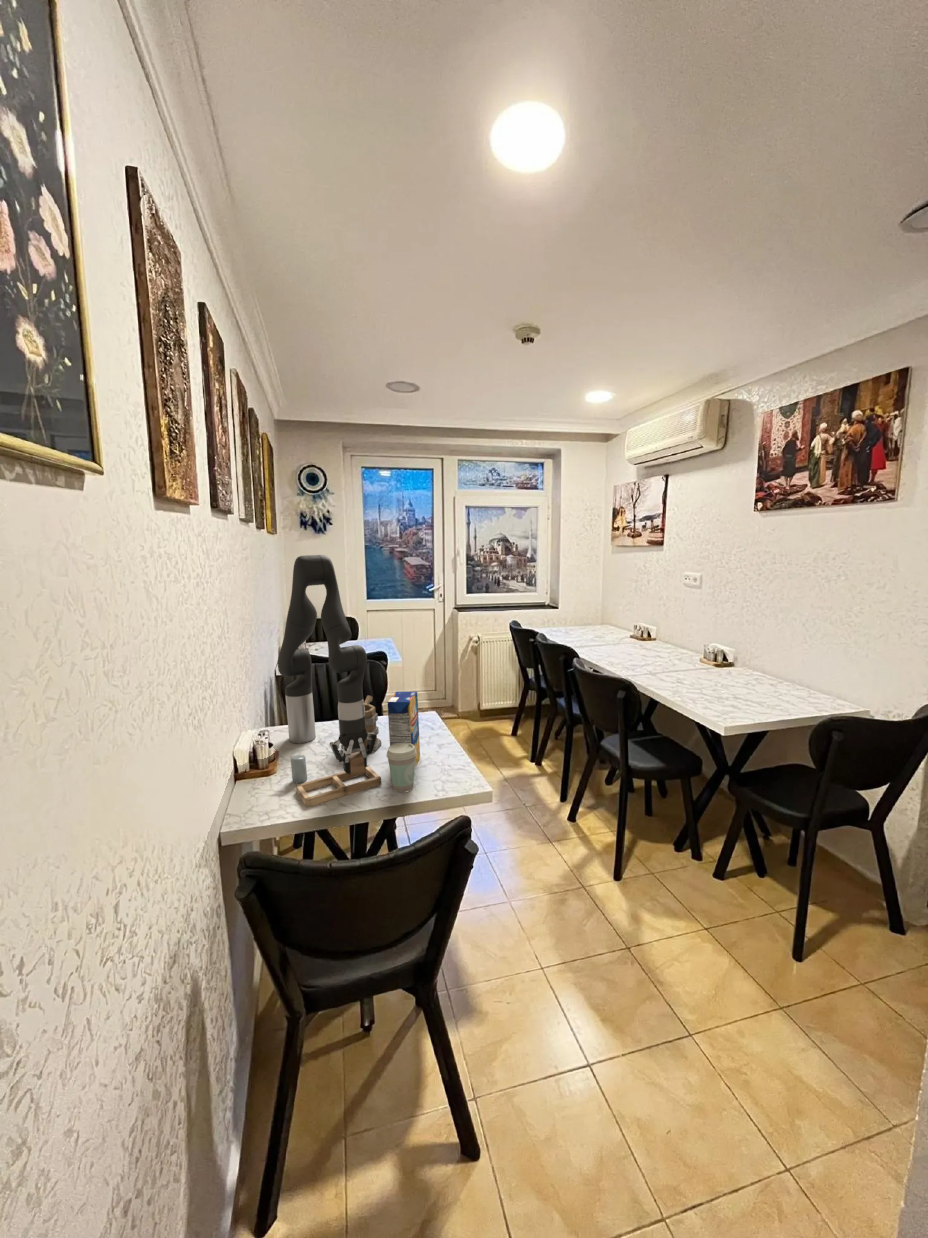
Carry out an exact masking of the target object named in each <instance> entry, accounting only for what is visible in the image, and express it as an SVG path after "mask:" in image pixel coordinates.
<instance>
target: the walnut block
mask: <svg viewBox="0 0 928 1238" xmlns="http://www.w3.org/2000/svg"><path fill="white" fill-rule="evenodd" d="M349 762H350V775H351V776H354V775H358V774H361V773H365V766H364V756H363V755H362V754H361V753H360V752H356V753H352V754H351V755H350V758H349Z"/></svg>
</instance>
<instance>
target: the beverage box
mask: <svg viewBox="0 0 928 1238" xmlns="http://www.w3.org/2000/svg"><path fill="white" fill-rule="evenodd" d="M418 699H419V698H418V691H395V692H394V694H393V695H392V696H391V697H390V699H388V701H387V716H388V732H389V733H388V735H389V737H388V738H389V747H390V746H391V745H393V744H397V743H410V744H413V745H414V747H415V749H416V752H417V754H416V758H415V767H416V766H417V763H418V762H419V760H420V758H421V747H420V746H421V745H420V726H419V725H420V723H419V706H418V705H419V703H418V702H419V701H418Z"/></svg>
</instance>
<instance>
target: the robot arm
mask: <svg viewBox="0 0 928 1238" xmlns="http://www.w3.org/2000/svg"><path fill="white" fill-rule="evenodd" d="M292 569H293V571H292V581H291V582H292V584H291V585H292V586H291V587H292V588H291V596H290V600H289V601H290V602H289V606H288V611H287V617H286V620H285V621H286V622H285V630H284V636H283V640H282V643H281V647H280V650H279V653H278V657H277V670H278V672H279V674H280V675H281V676H282V677H284V678H285V677H286V678H288V677H289V678H290V677H295V676H298V677H297V678H296V679H295V680H294V681H292V682H291V683H289V684H288V685H285V688H284V694H285V705H286V717H287V729H288V739H289V742H290V743H293V744H304V743H308V742H311V741H313V740H314V739H316V737H317V735H316V723H315V708H314V699H313V697H314V696H313V675H312V674H313V673H312V672H313V669H312V667H313V666H312V657H311V653H310V651H309V650H308V649H307V648H304V647H303V648H299V647H301V646H302V645H303V644H304V643H305V642H306V641H307V640H308V639H309V638H310V636H312V634H313V633H314V631H315V627H316V623H317V618H318V612H317V609H316V607H315V606H314V603H312V601H311V600H310V598H309V597H308V595H307V593H306V591H307V588H308V587H309V586H310V587H311V586H321V585H323V586H324V587H325V592H326V595H325V599H324V603H323V604H322V605H323V606H322V608H321V611H320V621H321V625H322V628H323V631H324V634H325V636H326V641H327V649H328V657H327V659H328V665H329V668H330V669H331V671H333V672H334V673H336V674H343V673H347V672H350V673H349V675H348V676H347V677H345V678H343V679H340V680H339V681H338V682H337V684H336V687H337V688H336V689H337V703H338V704H337V715H338V729H339V736H338V739H337V740H335V741H330V743H329V746H330V748H331V751H332V753H333V756H334V757H335V759H336V760H337V761H338V762H339V763H342V765H343V772H346V773H347V774H350V762H349V758H350V755H351V751H352V750H354V749H358V750H359V752H360V753H361V754H362V755H363V756H364V766H365V767H367V765H368V758H367V757H368V755H372V754H373V752H374V751H373V748H374V744H375V740H376V734H374V733H373V732H370V733H367V731H366V721H365V706H364V702H365V700H364V692H363V691H364V690H363V683H364V682H363V681H364V676H365V671H366V668H367V664H368V663H367V661H368V655H367V652H366V650H365V648H364V647H363V646H361V645H359V644H355V645H348V646H344V647H341V646H340V645H342V644H345V643H346V642H348V641H349V640H351V638H352V631H351V628H350V625H349V623H348V620H347V617H346V615H345V611H344V607H343V604H342V601H341V600H342V599H341V595H340V591H339V585H338V580H337V576H336V571H335V568H334V564H333V562H332V560H331V558H330V556H328V555H325V554H307V555H300V556H298V557H296V559H295V561H294V564H293V568H292ZM366 738H367V739H368V742H367V746H366V750H365V747H364V744H363V743H364V741H365V740H366ZM341 745H343V746H344V747H343V750H342V754H341V753H340V747H341Z"/></svg>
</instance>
